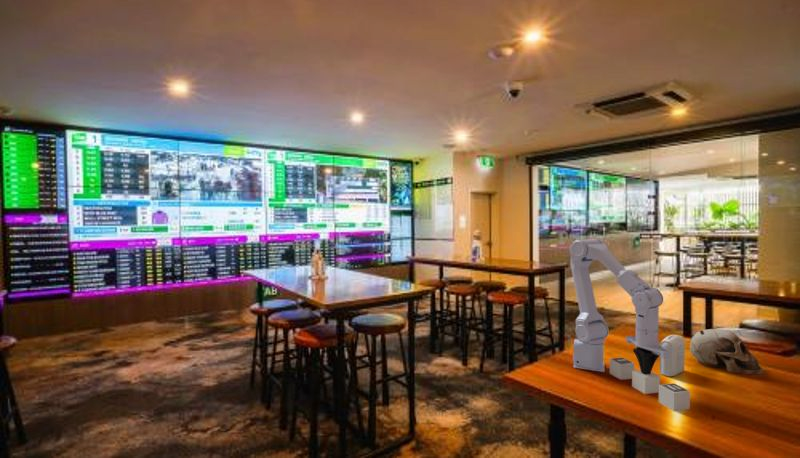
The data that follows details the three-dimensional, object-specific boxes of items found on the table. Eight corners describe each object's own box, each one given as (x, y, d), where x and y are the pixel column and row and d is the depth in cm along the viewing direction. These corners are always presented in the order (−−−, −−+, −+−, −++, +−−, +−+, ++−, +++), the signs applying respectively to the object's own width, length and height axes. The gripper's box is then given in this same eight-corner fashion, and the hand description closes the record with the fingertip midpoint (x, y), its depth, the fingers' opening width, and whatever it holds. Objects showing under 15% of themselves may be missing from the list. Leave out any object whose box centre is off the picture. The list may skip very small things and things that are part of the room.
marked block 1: (609, 373, 132) (609, 357, 132) (622, 372, 133) (623, 356, 133) (620, 379, 127) (620, 363, 127) (634, 378, 128) (634, 362, 128)
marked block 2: (658, 402, 112) (658, 383, 112) (673, 400, 113) (674, 382, 113) (673, 411, 107) (674, 391, 107) (689, 409, 108) (689, 390, 108)
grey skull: (771, 374, 129) (767, 333, 129) (719, 381, 129) (715, 340, 129) (729, 357, 145) (725, 321, 145) (683, 364, 145) (679, 327, 144)
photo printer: (671, 366, 137) (672, 331, 136) (686, 370, 133) (687, 334, 133) (657, 373, 131) (658, 336, 130) (672, 378, 128) (673, 340, 127)
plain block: (632, 386, 122) (632, 370, 122) (646, 385, 123) (646, 369, 123) (644, 394, 117) (645, 377, 117) (659, 392, 118) (659, 376, 118)
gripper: (679, 335, 113) (678, 382, 113) (639, 321, 127) (639, 363, 128) (657, 337, 112) (656, 384, 112) (620, 322, 126) (619, 364, 127)
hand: (646, 373), depth 120 cm, fingers closed, pressing on plain block
